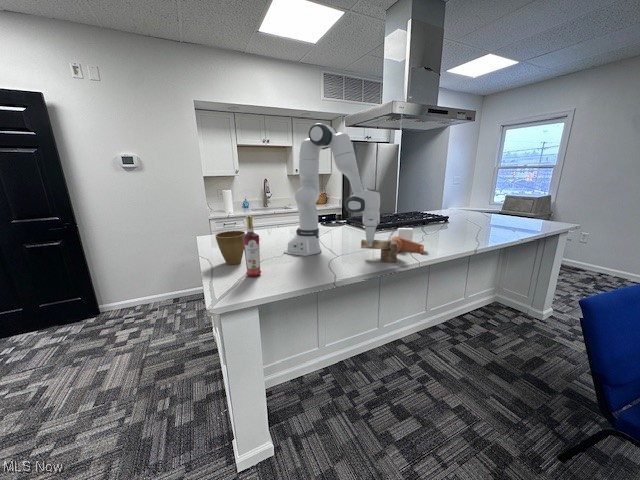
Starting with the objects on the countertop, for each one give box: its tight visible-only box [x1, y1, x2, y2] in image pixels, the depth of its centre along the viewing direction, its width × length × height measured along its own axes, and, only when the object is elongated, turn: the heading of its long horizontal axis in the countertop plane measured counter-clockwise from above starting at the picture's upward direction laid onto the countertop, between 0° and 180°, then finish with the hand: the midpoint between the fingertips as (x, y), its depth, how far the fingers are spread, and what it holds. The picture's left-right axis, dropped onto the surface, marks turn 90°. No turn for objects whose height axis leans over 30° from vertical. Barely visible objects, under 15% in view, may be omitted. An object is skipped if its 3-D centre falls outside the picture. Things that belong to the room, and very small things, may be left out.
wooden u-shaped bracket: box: [380, 240, 398, 264], centre depth 140 cm, size 8×8×10 cm
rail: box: [360, 239, 390, 250], centre depth 141 cm, size 15×4×4 cm, turn 77°
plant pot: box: [215, 230, 246, 266], centre depth 139 cm, size 15×15×16 cm
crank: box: [389, 235, 425, 255], centre depth 155 cm, size 20×8×8 cm, turn 68°
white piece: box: [397, 227, 414, 246], centre depth 162 cm, size 9×9×12 cm
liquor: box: [242, 215, 262, 278], centre depth 120 cm, size 7×7×28 cm
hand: (370, 244), depth 142 cm, fingers closed on rail, 3 cm apart
